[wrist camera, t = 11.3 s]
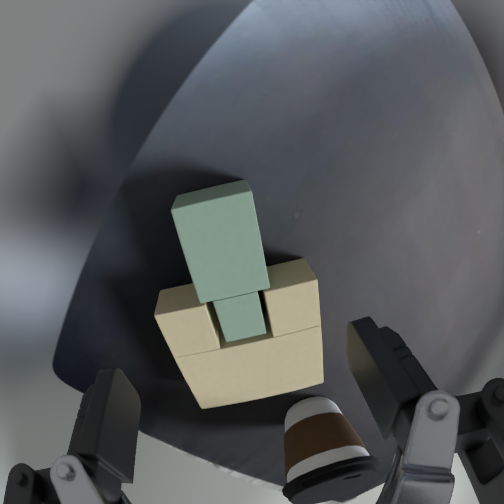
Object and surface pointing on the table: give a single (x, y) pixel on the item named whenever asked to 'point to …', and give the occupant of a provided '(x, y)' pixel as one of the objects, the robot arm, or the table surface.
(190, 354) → the notch pad
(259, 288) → the pad
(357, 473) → the coffee cup
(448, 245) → the table surface
